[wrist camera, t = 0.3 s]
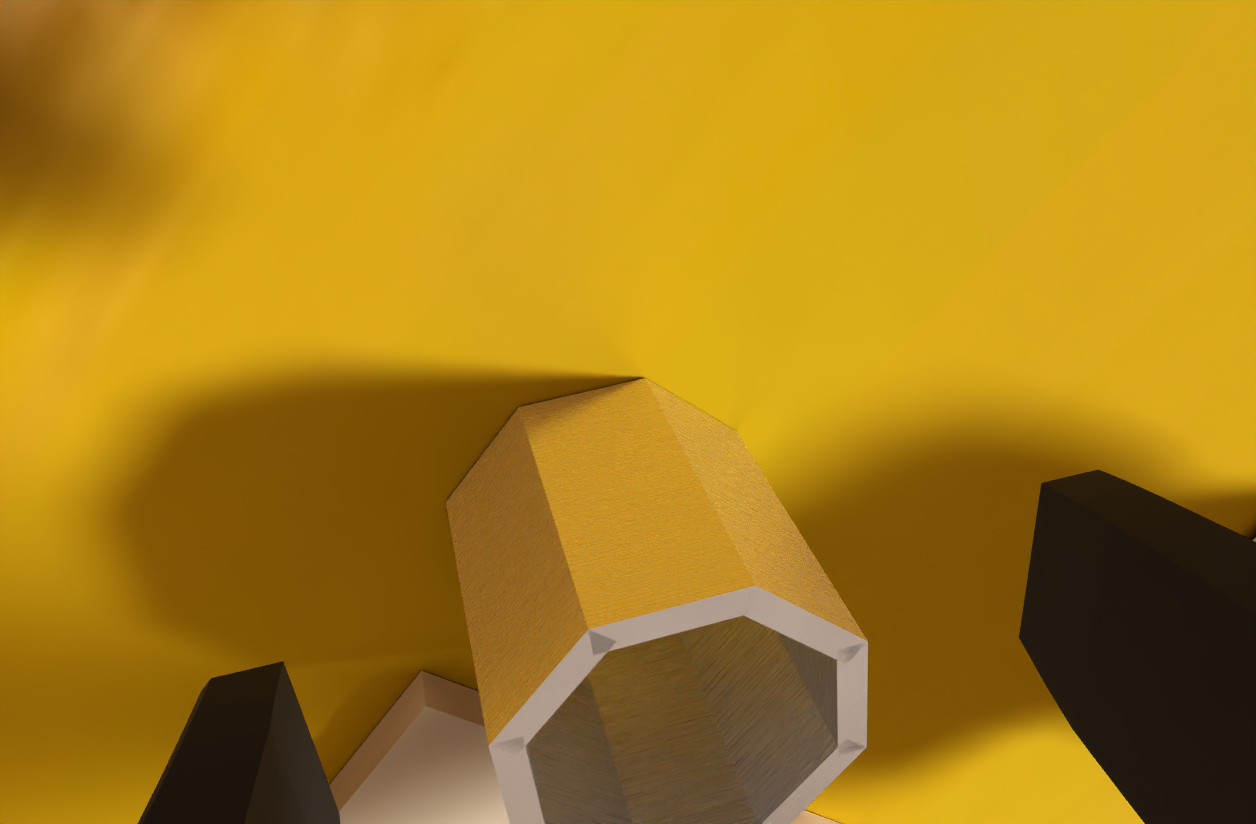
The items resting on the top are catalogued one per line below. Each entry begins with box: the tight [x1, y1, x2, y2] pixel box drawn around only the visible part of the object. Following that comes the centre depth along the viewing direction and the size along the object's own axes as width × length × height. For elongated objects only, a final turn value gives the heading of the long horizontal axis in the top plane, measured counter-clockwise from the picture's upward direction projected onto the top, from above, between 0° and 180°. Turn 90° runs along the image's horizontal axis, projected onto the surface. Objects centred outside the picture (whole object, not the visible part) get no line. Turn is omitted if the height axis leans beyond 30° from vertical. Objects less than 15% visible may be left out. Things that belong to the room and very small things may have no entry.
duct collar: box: [446, 378, 868, 824], centre depth 19 cm, size 6×6×6 cm
